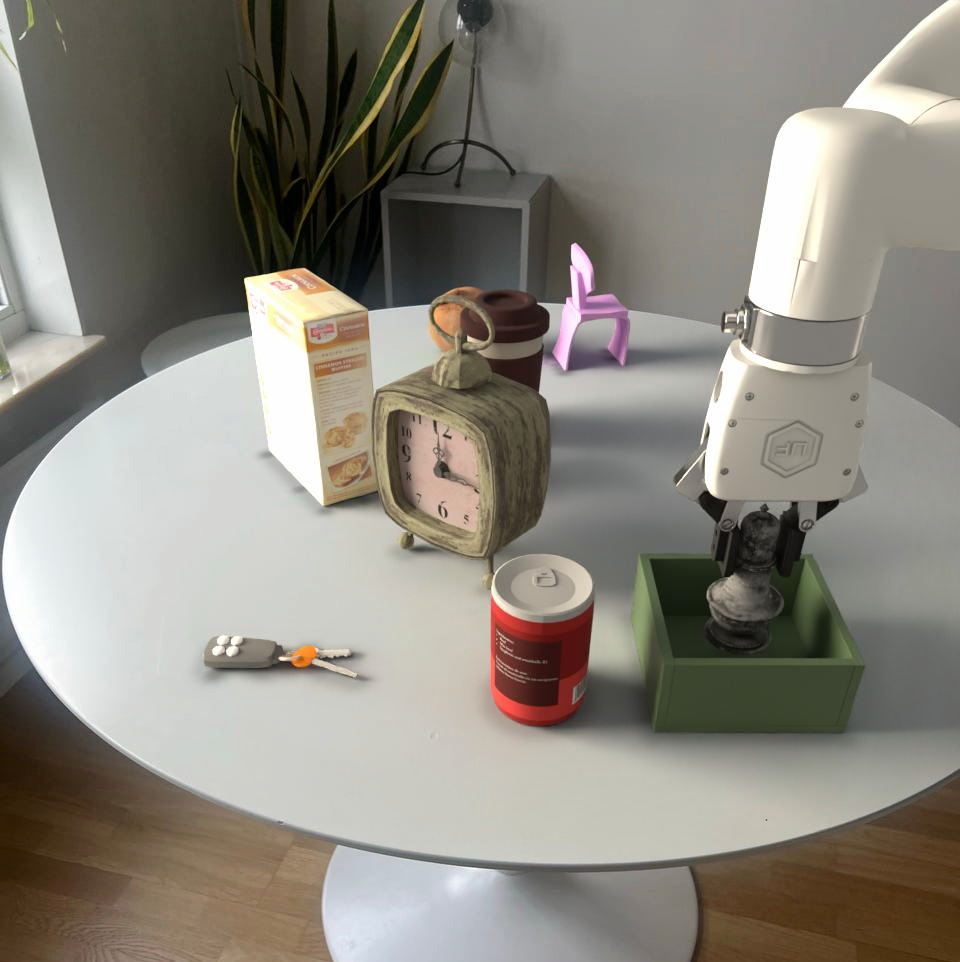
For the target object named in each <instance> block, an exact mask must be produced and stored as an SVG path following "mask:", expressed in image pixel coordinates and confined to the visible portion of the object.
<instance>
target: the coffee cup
mask: <svg viewBox="0 0 960 962" xmlns="http://www.w3.org/2000/svg"><path fill="white" fill-rule="evenodd" d="M474 302H476V303H478V304H479V305H480V306H481V307H482V308H483V309H484V310H485V311H486V312H487V313H488V315H489V316H490V318H491V319H492V322H493V325H494V329H495V337H494V340H493V343H492V344H491V345H490V346H489V347H488V348H486V349H485V350H480V351H477V352H479V353H480V354H481V355H482V356H483V357H485V358H486V360H487V362H488V363H489V365H490V368H491V371H492V373H495V374H498V375H501V376H503V377H506V378H508V379H511V380H513V381H516V382H518V383H521V384H523V385H526V386H528V387H530V388H532V389H534V390H535V391H537V392H538V393H539V394H540V388H541V378H542V370H543V360H544V352H545V345H544V342H543V341H544V336H545V335H546V334H547V333H548V331H549V329H550V321H551V314H550V312H549V310H548V309H547V308H545V307H544V306H543V305H541V304H538V301H537V299H536V297H534V295H532V294H531V293H528V292H525V291H522V290H517V289H493V290H488V291H484V293H481V294H480V295H478V296H477V297H476V298H475V299H474ZM460 327H461V330H464V331H466V332H467V341H469V342H472V343H483V342H485V341H487V340H488V338H489V335H490V334H489V329H488V327H487V325H486V323H485V321H484V320H483V319H482V317H481V316H480V315H479V314H478V313H476V312H475V311H474V310H472V309H470V308H467V307H465V308H464V309H463V310H462V311H461V314H460Z"/></svg>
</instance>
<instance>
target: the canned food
mask: <svg viewBox="0 0 960 962" xmlns="http://www.w3.org/2000/svg"><path fill="white" fill-rule="evenodd" d="M494 573H495V574H494V576H493V580H492V587H491V590H490V668H489V669H490V676H489V677H490V681H489V682H490V693H491V695H492V698H493V701H494V703H495V705H496V707H497V709H498V710H499V711H500V712H501V713H502V714H503V715H504V716H505V717H507V718H509V719H510V720H512V721H514V722H516V723H519V724H522V725H527V726H533V727H548V726H554V725H558V724H560V723H562V722H563V723H564V721H567V720H568V719H570V718H571V717H573V715H575V714H576V713H577V712H578V710H579V709H580V707H581V706H582V703H583V701H584V699H585V696H586V690H587V681H588V670H589V661H590V652H591V651H590V650H591V642H592V641H591V639H592V631H593V621H594V609H595V597H596V588H595V587H596V586H595V585H596V584H595V579H594V577H593V576H592V574H591V572H590V571H589V570H588V569H587V568H586V567H585V566H583V565H582V564H581V563H579V562H577V561H575V560H573V559H571V558H568V557H565V556H562V555H558V554H557V555H556V554H551V553H531V554H525V555H520V556H518V557H515V558H512V559H510V560H508V561H506V562H505V563H503V564H501V566H500V567H499V568H497V570H496V571H495V572H494Z"/></svg>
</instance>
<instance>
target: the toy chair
mask: <svg viewBox="0 0 960 962" xmlns="http://www.w3.org/2000/svg"><path fill="white" fill-rule="evenodd" d="M570 257H571V263H572V265H570V266H569V267H570V279H571V294H572V296H569V297H568V296H567V297H566V302H565V305H564V306H563V309H562V313H561V323H560V330H559V334H558V336H557V337H558V338H557V340H556V343H555V345H554V347H553V349H552V355H553V356H554V358H555V359H556V360H557V362H558V363H559V365H560V366H561V368H562V369H563V370H564V371H565V372H566V371H568V369H569V361H570V355H571V349H572V345H573V341H574V338H575V336H576V333H577V331H578V329H579V327H580V325H582V324H583V323H586V322H591V321H597V320H604V319H605V320H606V319H614V320H615V327H614V331H613V335H612V337H611V339H610V342H609V343H608V346H607V350H608V351H609V352H610V353H611V354H612V355H613V357H614V358H615V359H616V361H618V363H619V364H620V365H621V366H625V365H626V359H627V352H628V344H629V338H630V332H631V319H630V318H629V316H628V315H629V310H628V308H627V307H625V306H624V304H622V303H621V302H620V301H619V300H618V299H617V297H616V296H615V295H614V294H613V293H608V294H600V295H599V294H598V295H592V296H588V294H590V293H592V292H593V291H595V290H596V284H595V283H596V282H595V272H594V266H593V264H592V262H591V260H590V258H589V256H588V255H587V253H586V252H585V251H584V250H583V249H582V247H581V246H580V245H579V244H578V243H577V242H574V243H572V244H571V247H570Z"/></svg>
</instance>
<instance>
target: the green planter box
mask: <svg viewBox="0 0 960 962" xmlns="http://www.w3.org/2000/svg"><path fill="white" fill-rule="evenodd" d="M635 573H636V574H635V582H634V590H633V599H632V605H631V615H630V619H631V625H632V629H633V635H634V640H635V645H636V649H637V654H638V659H639V664H640V665H639V666H640V670H641V675H642V680H643V685H644V690H645V696H646V701H647V705H648V711H649V715H650V720H651V721H650V722H651V726H652V731H653V733H711V734H712V733H713V734H715V733H719V734H720V733H728V734H729V733H734V734H735V733H737V734H738V733H740V734H741V733H743V734H745V733H746V734H747V733H749V734H750V733H751V734H752V733H755V734H756V733H758V734H759V733H760V734H761V733H763V734H765V733H767V734H770V733H773V734H777V733H779V734H780V733H781V734H787V733H789V734H790V733H791V734H797V733H799V734H845V731H846V728H847V725H848V721H849V718H850V716H851V712H852V709H853V706H854V702H855V700H856V697H857V694H858V690H859V687H860V685H861V682H862V678H863V675H864V672H865V669H866V663H865V661H864V659H863V656H862V654H861V652H860V650H859V648H858V646H857V643H856V642H855V640H854V638H853V636H852V634H851V631H850V630H849V627H848V625H847V622H846V621H845V619H844V617H843V615H842V613H841V611H840V609H839V607H838V604H837V603H836V600H835V598H834V596H833V594H832V591H831V589H830V587H829V586H828V584H827V582H826V579H825V578H824V575H823V573H822V572H821V569H820V567H819V565H818V563H817V561H816V558H815V556H814V554H813V553H801V556H800V560H799V561H794V564H793V568H792V572H791V576H790V577H782V576H780V575H779V573H778V571H777V569H776V566H775V567H774V568H772V572H771V576H770V581H769V585H771V586H773V587H774V588H775V589H776V590H777V591H778V592H779V593H780V594H781V596H782V598H783V600H784V607H783V609H782V612H781V613H780V614H779V615H778V616H776V619H775V620H774V621H773V622H772V624H771V625H770V626H769V627H768V628H769V630H770V632H771V637H772V640H771V642H770V645H769V646H768V647H767V648H766V649H765V650H763V651H761V652H759V653H755V654H750V655H740V654H733V653H729V652H725V651H723V650H721V649H719V648H717V647H715V646H714V645H713V644H711V643H710V642H709V640H708V639H707V638H706V636H705V633H704V626H705V624H706V622H707V621H708V620H709V619H710V618H712V617H713V616H712V614H711V611H710V607H709V602H708V599H707V590H708V588H709V586H710V585H711V584H713V583H714V582H715V581H717V580H720V579H722V578H726V577H723V576H722V573H721V570H720V567H719V564H718V561H713V560H712V557H711V552H709V553H707V552H706V553H703V552H702V553H700V552H699V553H698V552H697V553H694V552H693V553H691V552H690V553H688V552H687V553H685V552H683V553H681V552H680V553H678V552H677V553H676V552H675V553H673V552H672V553H671V552H670V553H669V552H668V553H666V552H665V553H664V552H663V553H661V552H660V553H659V552H658V553H657V552H654V553H653V552H652V553H651V552H649V553H647V552H639V553H638V555H637V565H636V572H635Z"/></svg>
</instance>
